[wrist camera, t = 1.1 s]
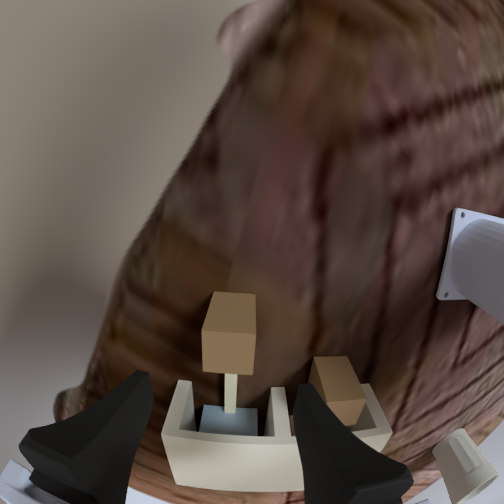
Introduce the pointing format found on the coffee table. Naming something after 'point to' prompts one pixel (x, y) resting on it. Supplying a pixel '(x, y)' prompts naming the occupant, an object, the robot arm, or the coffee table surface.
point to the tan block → (337, 388)
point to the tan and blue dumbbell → (229, 360)
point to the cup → (463, 466)
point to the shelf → (250, 446)
